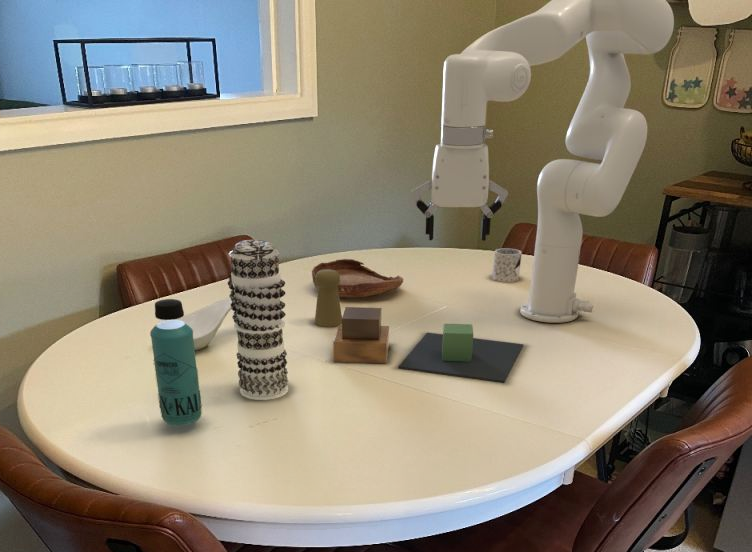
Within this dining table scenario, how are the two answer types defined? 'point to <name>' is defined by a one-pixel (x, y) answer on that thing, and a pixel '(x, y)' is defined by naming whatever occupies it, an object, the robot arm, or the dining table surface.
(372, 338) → the walnut block
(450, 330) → the green block
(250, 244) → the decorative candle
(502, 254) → the mug
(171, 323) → the beverage bottle
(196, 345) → the spoon rest
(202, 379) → the dining table surface
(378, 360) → the oak block
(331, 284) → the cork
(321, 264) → the wooden bowl
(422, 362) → the mat
